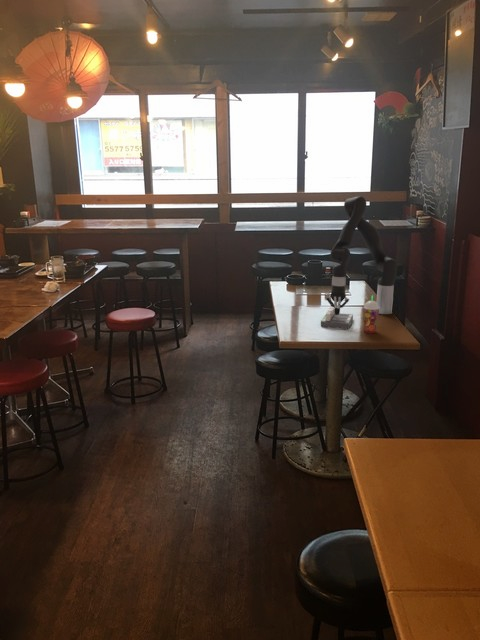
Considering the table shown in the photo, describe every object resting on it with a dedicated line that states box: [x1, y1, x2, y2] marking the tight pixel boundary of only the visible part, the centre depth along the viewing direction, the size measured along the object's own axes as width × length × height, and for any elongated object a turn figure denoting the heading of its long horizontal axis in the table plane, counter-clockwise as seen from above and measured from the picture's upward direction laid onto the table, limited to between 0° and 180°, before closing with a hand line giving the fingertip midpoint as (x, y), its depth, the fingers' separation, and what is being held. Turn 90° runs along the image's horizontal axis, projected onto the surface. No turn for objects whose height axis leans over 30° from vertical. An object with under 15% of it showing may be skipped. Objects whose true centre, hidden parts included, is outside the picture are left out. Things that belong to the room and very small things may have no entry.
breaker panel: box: [320, 312, 354, 330], centre depth 314 cm, size 15×20×3 cm
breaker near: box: [325, 310, 332, 321], centre depth 308 cm, size 2×5×4 cm, turn 162°
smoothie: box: [362, 295, 380, 334], centre depth 295 cm, size 8×8×20 cm
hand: (336, 314), depth 313 cm, fingers closed
